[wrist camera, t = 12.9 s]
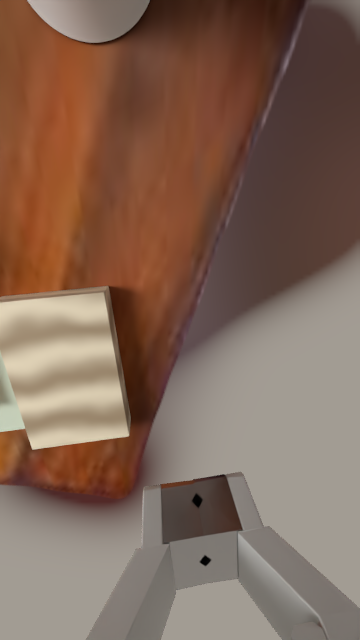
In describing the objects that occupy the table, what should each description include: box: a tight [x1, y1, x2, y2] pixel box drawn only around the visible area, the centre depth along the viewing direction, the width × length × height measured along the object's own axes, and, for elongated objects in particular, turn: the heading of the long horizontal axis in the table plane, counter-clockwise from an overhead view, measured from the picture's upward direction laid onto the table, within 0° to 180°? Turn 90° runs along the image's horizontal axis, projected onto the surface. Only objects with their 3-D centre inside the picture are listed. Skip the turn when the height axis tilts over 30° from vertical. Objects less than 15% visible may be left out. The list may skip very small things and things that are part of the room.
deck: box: [0, 286, 131, 450], centre depth 38 cm, size 22×14×4 cm, turn 5°
